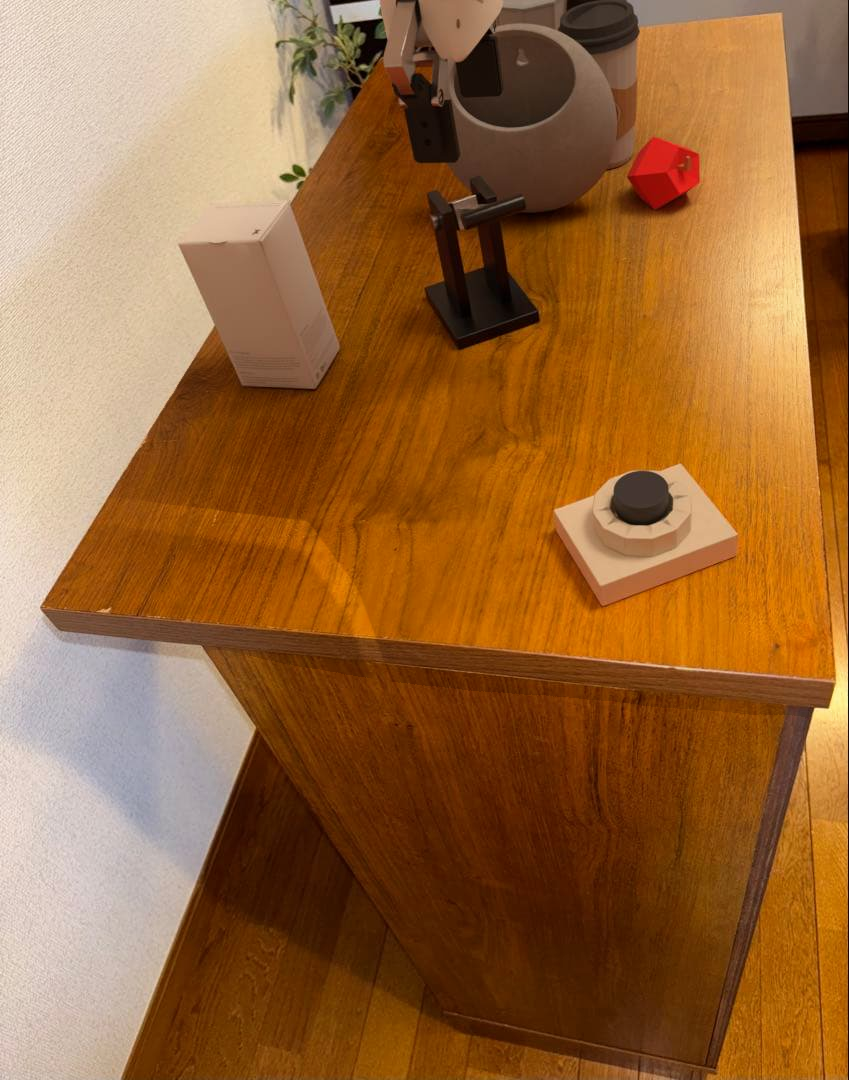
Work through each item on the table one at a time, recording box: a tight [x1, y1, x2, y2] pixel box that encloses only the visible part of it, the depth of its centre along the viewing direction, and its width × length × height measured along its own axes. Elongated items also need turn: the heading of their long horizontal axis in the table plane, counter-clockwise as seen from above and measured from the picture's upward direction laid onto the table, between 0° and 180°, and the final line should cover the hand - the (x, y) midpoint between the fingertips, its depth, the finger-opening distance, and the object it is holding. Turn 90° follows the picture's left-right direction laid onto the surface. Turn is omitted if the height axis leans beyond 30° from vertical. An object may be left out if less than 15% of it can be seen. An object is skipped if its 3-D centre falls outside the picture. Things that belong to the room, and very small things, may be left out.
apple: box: [626, 135, 701, 211], centre depth 98 cm, size 7×7×8 cm
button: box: [614, 470, 669, 526], centre depth 66 cm, size 4×4×2 cm
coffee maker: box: [496, 0, 598, 63], centre depth 111 cm, size 15×9×18 cm, turn 73°
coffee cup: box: [557, 0, 641, 170], centre depth 103 cm, size 8×8×15 cm
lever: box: [447, 193, 526, 231], centre depth 82 cm, size 12×5×2 cm, turn 18°
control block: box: [553, 463, 739, 607], centre depth 68 cm, size 10×8×4 cm
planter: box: [445, 23, 617, 214], centre depth 97 cm, size 18×7×19 cm, turn 72°
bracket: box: [424, 176, 541, 350], centre depth 89 cm, size 10×8×12 cm
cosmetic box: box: [177, 200, 341, 390], centre depth 87 cm, size 8×7×16 cm
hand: (461, 126), depth 69 cm, fingers open, 9 cm apart
